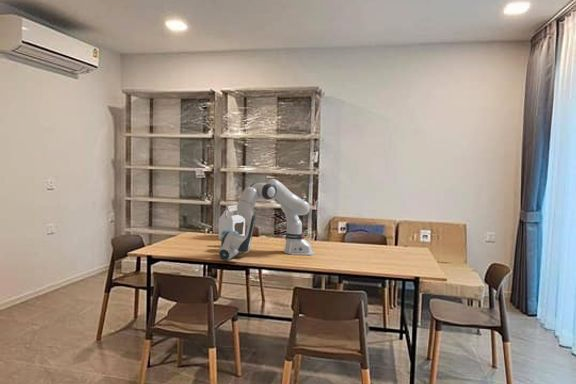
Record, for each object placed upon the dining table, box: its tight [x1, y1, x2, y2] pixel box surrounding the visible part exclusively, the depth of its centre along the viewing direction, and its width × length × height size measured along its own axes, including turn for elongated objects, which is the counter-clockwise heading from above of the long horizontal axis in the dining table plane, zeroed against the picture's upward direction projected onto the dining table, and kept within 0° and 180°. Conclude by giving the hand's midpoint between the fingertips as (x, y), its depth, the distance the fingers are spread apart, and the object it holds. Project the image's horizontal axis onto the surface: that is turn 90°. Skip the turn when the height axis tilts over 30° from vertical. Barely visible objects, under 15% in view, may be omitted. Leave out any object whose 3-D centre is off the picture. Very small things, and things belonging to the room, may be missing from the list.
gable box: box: [218, 204, 246, 241], centre depth 365 cm, size 22×13×28 cm, turn 158°
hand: (238, 246), depth 304 cm, fingers closed
